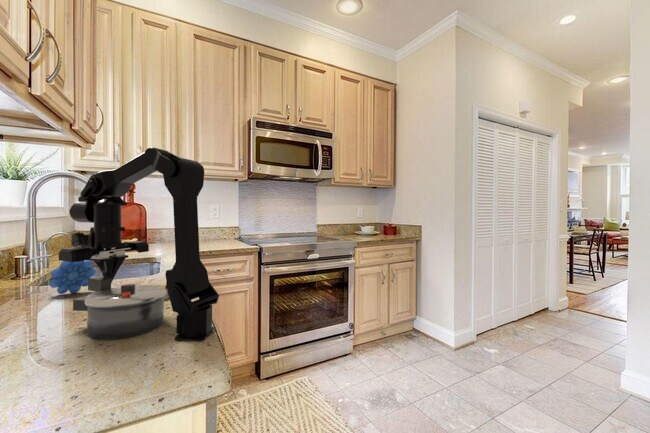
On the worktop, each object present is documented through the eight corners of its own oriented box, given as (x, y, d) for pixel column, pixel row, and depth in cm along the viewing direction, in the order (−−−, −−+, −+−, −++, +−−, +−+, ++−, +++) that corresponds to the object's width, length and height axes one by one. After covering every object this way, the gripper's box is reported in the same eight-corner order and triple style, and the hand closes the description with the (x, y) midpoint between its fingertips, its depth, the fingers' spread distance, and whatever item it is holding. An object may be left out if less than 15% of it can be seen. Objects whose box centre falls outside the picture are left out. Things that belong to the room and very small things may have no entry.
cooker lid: (180, 293, 74) (181, 279, 74) (115, 312, 59) (115, 295, 59) (124, 284, 82) (124, 271, 82) (54, 299, 67) (54, 284, 67)
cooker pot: (175, 316, 77) (175, 291, 77) (137, 341, 62) (138, 309, 62) (102, 314, 78) (103, 289, 78) (48, 338, 63) (48, 307, 63)
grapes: (95, 287, 104) (96, 254, 103) (96, 292, 98) (96, 256, 98) (50, 293, 96) (51, 256, 96) (48, 297, 91) (49, 259, 91)
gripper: (123, 221, 87) (124, 273, 88) (44, 224, 70) (45, 289, 70) (150, 222, 83) (150, 276, 83) (72, 225, 66) (73, 294, 66)
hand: (108, 283), depth 76 cm, fingers closed
